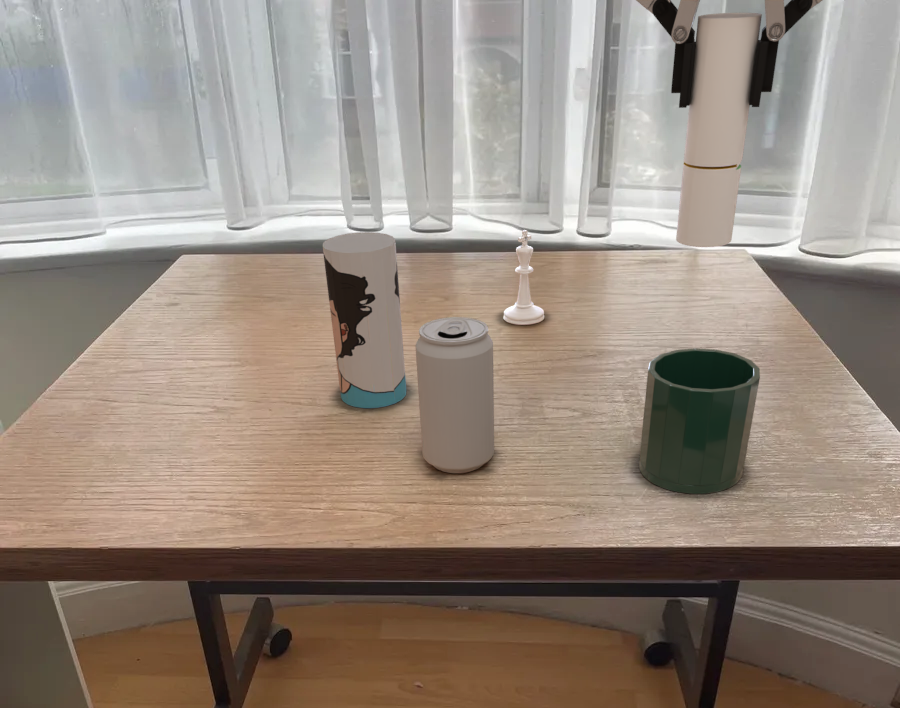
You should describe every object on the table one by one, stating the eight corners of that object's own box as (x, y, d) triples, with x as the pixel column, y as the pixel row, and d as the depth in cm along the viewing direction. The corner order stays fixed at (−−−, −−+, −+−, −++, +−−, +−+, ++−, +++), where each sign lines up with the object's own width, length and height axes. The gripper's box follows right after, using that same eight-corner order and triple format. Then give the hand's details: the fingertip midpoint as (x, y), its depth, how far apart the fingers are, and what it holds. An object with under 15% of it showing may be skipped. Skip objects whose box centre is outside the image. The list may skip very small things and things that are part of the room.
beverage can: (417, 476, 78) (408, 342, 71) (429, 441, 83) (421, 313, 76) (490, 478, 77) (488, 342, 70) (497, 443, 82) (496, 314, 75)
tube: (707, 250, 69) (735, 19, 60) (664, 240, 72) (685, 17, 63) (742, 238, 71) (774, 13, 62) (699, 229, 74) (724, 11, 65)
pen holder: (742, 449, 79) (759, 351, 74) (741, 498, 73) (760, 395, 67) (643, 441, 81) (653, 345, 76) (634, 488, 75) (644, 387, 69)
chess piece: (494, 318, 108) (494, 231, 102) (523, 307, 111) (524, 222, 105) (524, 328, 105) (525, 239, 99) (553, 317, 108) (555, 229, 102)
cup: (391, 375, 95) (379, 228, 86) (417, 398, 91) (406, 245, 82) (331, 389, 93) (312, 239, 84) (354, 413, 88) (336, 257, 79)
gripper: (612, -227, 54) (597, 114, 65) (916, -257, 50) (845, 112, 61) (626, -215, 60) (610, 97, 71) (901, -240, 56) (838, 95, 67)
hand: (719, 101), depth 66 cm, fingers closed on tube, 4 cm apart
